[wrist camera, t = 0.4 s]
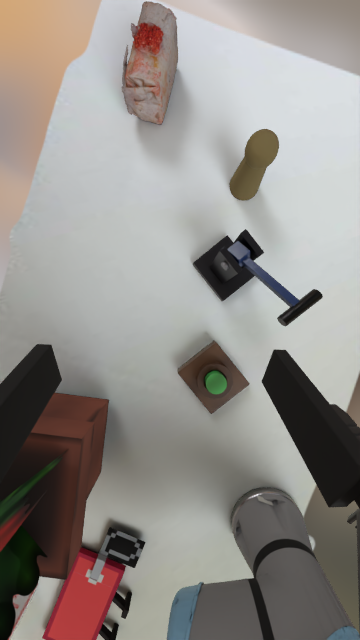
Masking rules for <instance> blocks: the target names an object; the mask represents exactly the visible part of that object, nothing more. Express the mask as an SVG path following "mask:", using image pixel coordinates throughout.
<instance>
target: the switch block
mask: <svg viewBox="0 0 360 640" xmlns="http://www.w3.org/2000/svg"><path fill="white" fill-rule="evenodd" d="M211 371H219V372H221V373H222V374H223V375H224V377H225V378H226V381H227V387H226V389H225V390H224V391H223V392H222V393H220V394H212V393H210V392H209V391H208V390H207V388H206V385H205V377H206V375H207V374H208V373H209V372H211ZM178 374H179V375H180V376H181V377H182V379H183V380H184V381H185V382H186V384H187V385H188V386H189V387H190V389H191V390H192V391H193V392H194V393H195V395H196V396H197V397H198V398H199V400H200V401H201V402H202V403H203V405H204V406H205V407H206V408H207V409H208V411H209V412H210V413H211V414H212V413H213V412H215V411H216V410H217V409H218V408H220V407H221V406H222V405H224V404H225V403H226V402H227V401H229V400H230V399H231V398H233V397H234V396H235V395H236V394H238V393H239V392H240V391H242V390H243V389H244V388H245V387H247V386H248V385H249V382H248V381H247V380H246V379H245V377H244V376H243V375H242V374H241V372H240V371H239V370H238V369H237V367H236V366H235V365H234V364H233V362H232V361H231V360H230V359H229V358H228V356H227V355H226V354H225V353H224V351H223V350H222V349H221V348H220V346H219V345H218V344H217V343H216V342H215V341H213V342H211V343H210V344H209V345H208V346H206V347H205V348H204V349H203V350H201V351H200V352H199V353H198V354H196V355H195V356H194V357H192V358H191V359H190V360H189V361H187V362H186V363H185V364H184V365H182V366H181V367H180V368H179V369H178Z"/></svg>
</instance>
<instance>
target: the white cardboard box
mask: <svg viewBox="0 0 360 640" xmlns="http://www.w3.org/2000/svg"><path fill="white" fill-rule="evenodd" d="M37 585H38V584H37ZM36 588H37V586H36ZM36 588H35V589H34V591H33V592H32V593H31V594H29V595H28V596H21V595H19V594H17V595H14V596H13V605H14V607H15V612H16V619H15V624H14V627H13V630H12V633H11V635H10V637H9V638H8V640H10V639H11V637H12V635H13V633H14V631H15V630H16V628H17V626H18V624H19V622H20V620H21V618H22V616H23V614H24V612H25V611H26V609H27V607H28V605H29V603H30V601H31V599H32V597H33V595H34V592H35V590H36Z"/></svg>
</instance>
